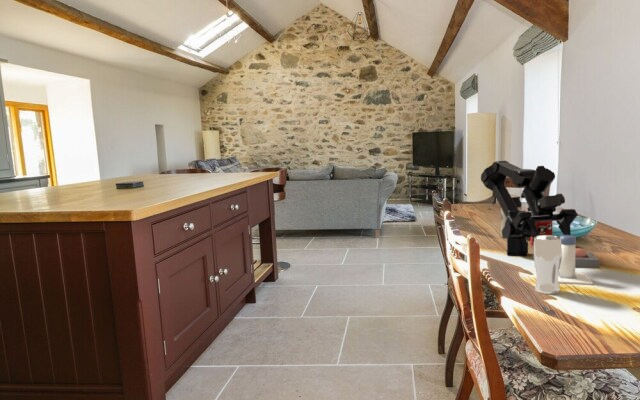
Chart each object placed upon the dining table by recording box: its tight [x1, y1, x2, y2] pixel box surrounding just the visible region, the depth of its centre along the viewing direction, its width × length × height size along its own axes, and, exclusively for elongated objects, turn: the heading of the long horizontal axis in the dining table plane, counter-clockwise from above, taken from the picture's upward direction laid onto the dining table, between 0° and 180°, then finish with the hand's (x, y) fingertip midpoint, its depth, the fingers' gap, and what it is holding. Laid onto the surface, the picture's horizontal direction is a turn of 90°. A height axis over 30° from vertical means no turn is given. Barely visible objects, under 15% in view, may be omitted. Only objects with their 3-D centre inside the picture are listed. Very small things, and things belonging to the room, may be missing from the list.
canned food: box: [530, 221, 554, 247], centre depth 173 cm, size 8×8×11 cm
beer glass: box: [532, 234, 562, 295], centre depth 122 cm, size 7×7×15 cm
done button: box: [575, 247, 587, 258], centre depth 147 cm, size 4×4×3 cm
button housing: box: [575, 251, 600, 269], centre depth 147 cm, size 10×10×2 cm
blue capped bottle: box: [559, 234, 577, 278], centre depth 132 cm, size 4×4×12 cm
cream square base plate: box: [558, 270, 594, 286], centre depth 132 cm, size 11×11×1 cm
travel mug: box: [500, 193, 522, 237], centre depth 189 cm, size 8×8×18 cm
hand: (555, 240), depth 137 cm, fingers open, 9 cm apart
